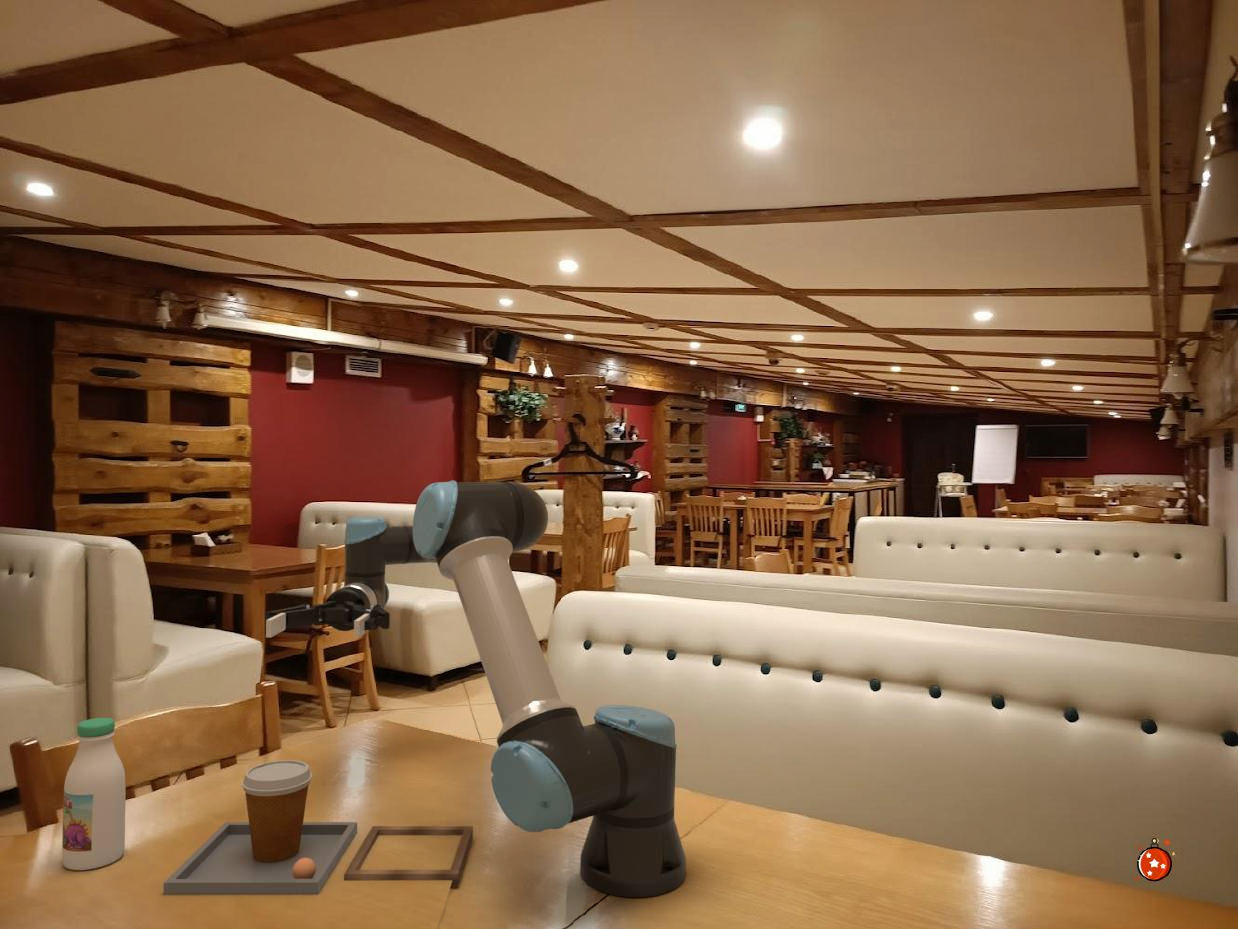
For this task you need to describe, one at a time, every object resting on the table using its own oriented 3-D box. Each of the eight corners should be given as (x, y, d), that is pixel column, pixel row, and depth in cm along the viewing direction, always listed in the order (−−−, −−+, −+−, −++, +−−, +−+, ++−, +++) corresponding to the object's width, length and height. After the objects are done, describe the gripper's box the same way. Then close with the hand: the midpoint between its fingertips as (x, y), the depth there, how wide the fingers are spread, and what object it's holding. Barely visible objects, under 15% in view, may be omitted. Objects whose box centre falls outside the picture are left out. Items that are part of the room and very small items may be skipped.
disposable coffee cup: (287, 871, 118) (288, 784, 118) (225, 864, 120) (227, 779, 120) (323, 842, 127) (324, 761, 128) (266, 835, 129) (267, 756, 129)
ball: (318, 875, 117) (318, 853, 117) (311, 886, 114) (311, 864, 114) (296, 875, 117) (296, 853, 117) (288, 886, 114) (289, 864, 114)
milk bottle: (116, 842, 129) (118, 710, 129) (131, 860, 123) (133, 722, 123) (56, 858, 123) (58, 720, 123) (69, 877, 118) (71, 733, 118)
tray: (356, 839, 131) (357, 822, 131) (317, 903, 112) (318, 882, 112) (225, 839, 130) (225, 822, 130) (163, 903, 111) (163, 882, 111)
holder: (472, 839, 132) (472, 826, 132) (457, 888, 117) (457, 874, 117) (372, 839, 131) (372, 826, 131) (343, 888, 116) (344, 874, 116)
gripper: (419, 628, 155) (392, 653, 134) (280, 627, 154) (231, 652, 133) (420, 586, 155) (393, 605, 134) (280, 585, 154) (232, 604, 133)
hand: (312, 629), depth 133 cm, fingers open, 13 cm apart
